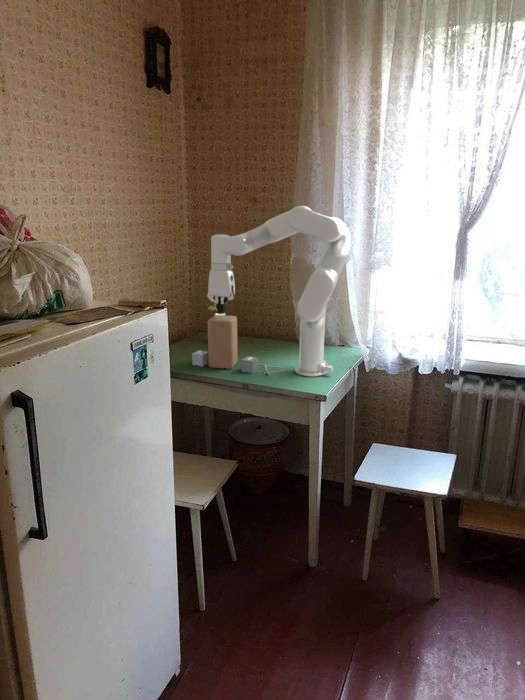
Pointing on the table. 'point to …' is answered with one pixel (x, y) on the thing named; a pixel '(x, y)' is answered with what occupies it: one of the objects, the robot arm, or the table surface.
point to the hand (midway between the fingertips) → (221, 313)
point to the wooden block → (222, 341)
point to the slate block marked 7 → (200, 358)
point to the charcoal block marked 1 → (250, 364)
